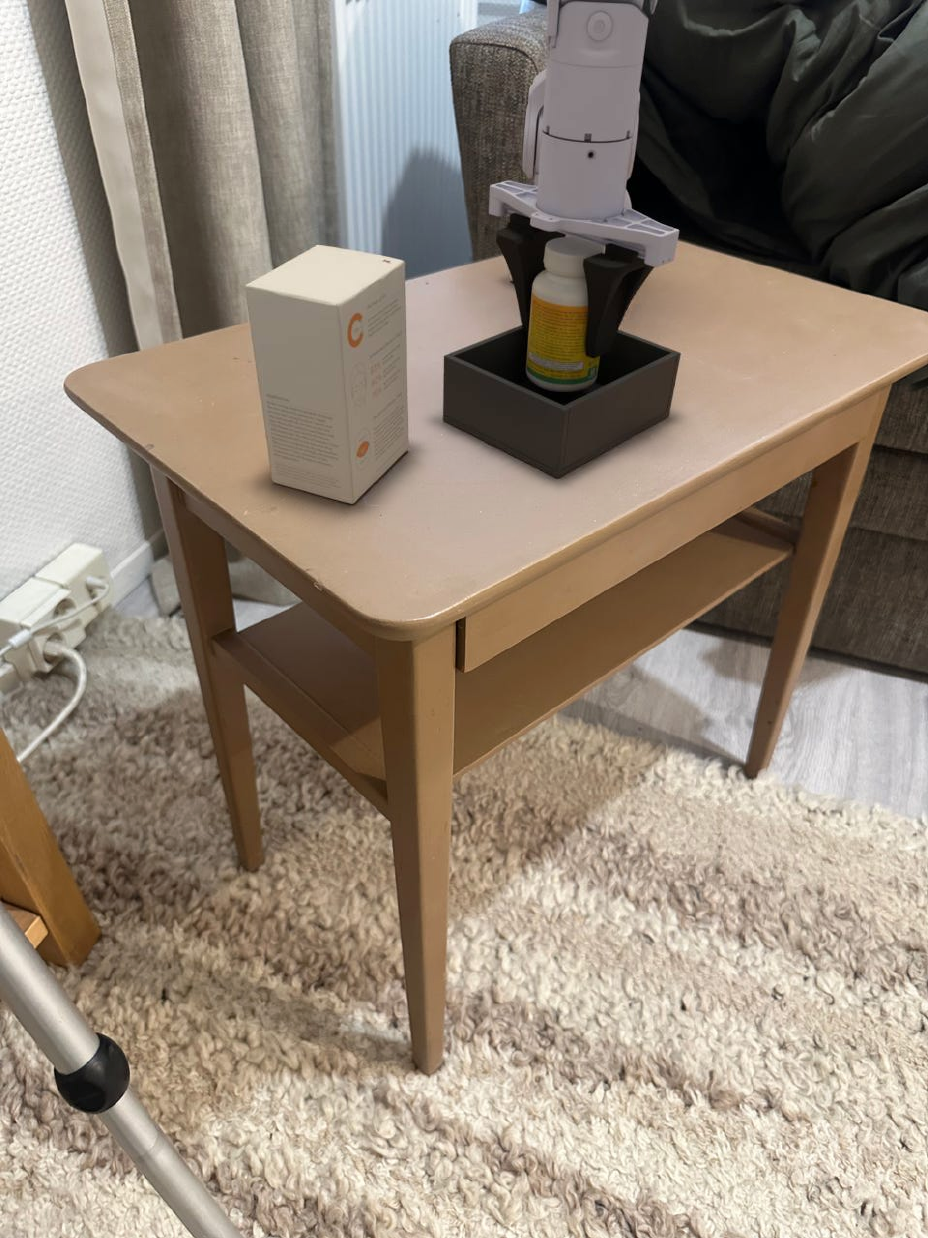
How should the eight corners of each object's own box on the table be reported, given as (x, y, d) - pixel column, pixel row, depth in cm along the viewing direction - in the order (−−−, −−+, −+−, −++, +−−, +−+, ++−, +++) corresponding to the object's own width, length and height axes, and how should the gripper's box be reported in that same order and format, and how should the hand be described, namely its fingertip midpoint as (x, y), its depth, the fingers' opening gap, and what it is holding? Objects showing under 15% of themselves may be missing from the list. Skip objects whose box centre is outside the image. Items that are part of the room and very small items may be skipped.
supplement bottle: (527, 359, 69) (537, 230, 63) (596, 364, 69) (613, 235, 63) (523, 391, 65) (533, 256, 59) (597, 396, 65) (615, 261, 59)
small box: (331, 429, 64) (317, 241, 56) (411, 449, 62) (408, 258, 54) (268, 483, 59) (241, 282, 50) (352, 507, 57) (340, 303, 48)
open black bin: (556, 368, 73) (562, 308, 70) (669, 416, 67) (681, 352, 64) (442, 420, 66) (443, 355, 63) (557, 478, 60) (564, 410, 57)
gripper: (460, 119, 58) (456, 324, 67) (643, 166, 50) (611, 390, 59) (532, 105, 62) (519, 301, 71) (712, 146, 54) (672, 359, 63)
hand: (565, 340), depth 65 cm, fingers closed on supplement bottle, 5 cm apart
